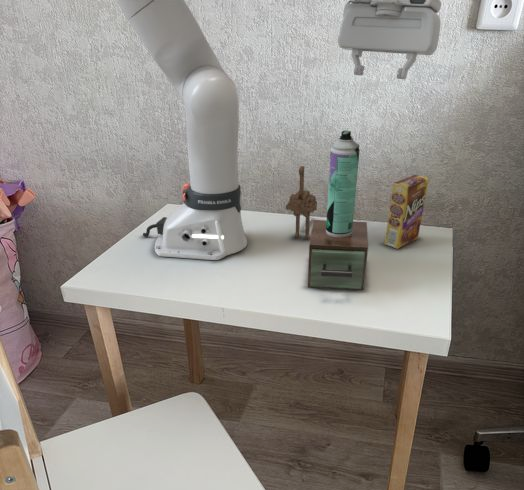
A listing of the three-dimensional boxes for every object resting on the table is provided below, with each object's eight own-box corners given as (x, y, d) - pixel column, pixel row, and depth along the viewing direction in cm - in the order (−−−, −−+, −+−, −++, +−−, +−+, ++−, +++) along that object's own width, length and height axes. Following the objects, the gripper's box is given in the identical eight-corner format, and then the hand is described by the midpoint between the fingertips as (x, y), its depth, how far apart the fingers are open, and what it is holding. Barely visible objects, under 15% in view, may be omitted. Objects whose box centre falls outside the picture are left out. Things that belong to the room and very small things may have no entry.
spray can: (351, 227, 113) (360, 128, 102) (352, 238, 108) (362, 135, 97) (325, 227, 113) (331, 128, 102) (325, 237, 109) (331, 134, 98)
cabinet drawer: (361, 298, 105) (365, 262, 101) (308, 295, 107) (310, 260, 102) (360, 262, 119) (363, 229, 114) (313, 260, 120) (315, 227, 116)
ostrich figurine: (311, 245, 129) (314, 170, 119) (284, 242, 131) (285, 168, 121) (324, 220, 143) (328, 151, 132) (300, 218, 144) (302, 149, 134)
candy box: (398, 250, 126) (407, 186, 118) (383, 245, 129) (391, 182, 120) (419, 239, 131) (429, 177, 123) (404, 234, 134) (413, 173, 125)
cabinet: (363, 290, 110) (368, 247, 105) (307, 287, 111) (309, 244, 106) (362, 262, 121) (366, 221, 116) (311, 259, 123) (313, 219, 117)
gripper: (339, -7, 106) (327, 70, 111) (441, -6, 96) (422, 79, 102) (352, 1, 111) (340, 75, 116) (449, 3, 101) (431, 83, 107)
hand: (379, 77), depth 109 cm, fingers open, 8 cm apart
